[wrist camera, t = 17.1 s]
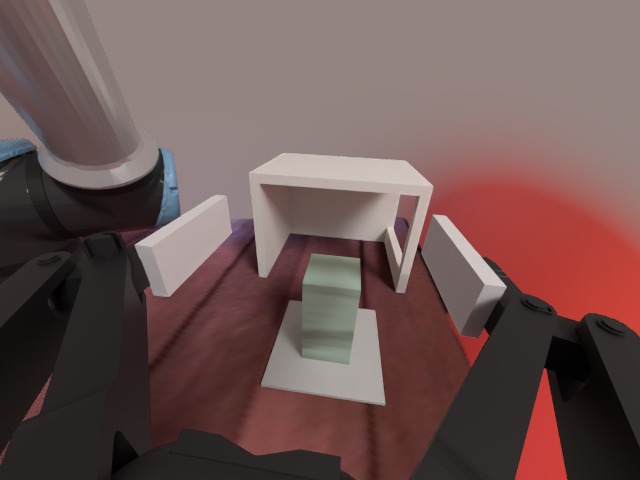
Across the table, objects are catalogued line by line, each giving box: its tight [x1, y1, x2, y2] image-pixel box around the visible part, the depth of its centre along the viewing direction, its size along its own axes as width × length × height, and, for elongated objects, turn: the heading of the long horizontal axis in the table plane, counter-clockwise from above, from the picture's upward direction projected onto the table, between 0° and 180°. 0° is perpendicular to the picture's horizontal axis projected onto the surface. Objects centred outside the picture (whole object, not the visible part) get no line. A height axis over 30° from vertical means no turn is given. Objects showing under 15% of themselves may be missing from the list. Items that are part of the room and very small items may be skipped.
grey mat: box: [261, 300, 385, 406], centre depth 33 cm, size 14×14×1 cm
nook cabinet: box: [249, 153, 433, 293], centre depth 48 cm, size 20×27×20 cm
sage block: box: [302, 253, 361, 365], centre depth 30 cm, size 6×6×12 cm
